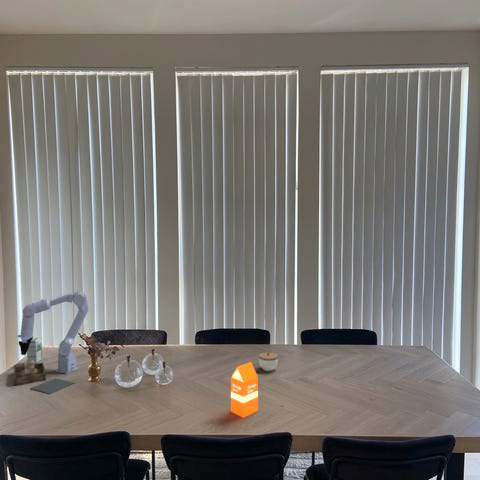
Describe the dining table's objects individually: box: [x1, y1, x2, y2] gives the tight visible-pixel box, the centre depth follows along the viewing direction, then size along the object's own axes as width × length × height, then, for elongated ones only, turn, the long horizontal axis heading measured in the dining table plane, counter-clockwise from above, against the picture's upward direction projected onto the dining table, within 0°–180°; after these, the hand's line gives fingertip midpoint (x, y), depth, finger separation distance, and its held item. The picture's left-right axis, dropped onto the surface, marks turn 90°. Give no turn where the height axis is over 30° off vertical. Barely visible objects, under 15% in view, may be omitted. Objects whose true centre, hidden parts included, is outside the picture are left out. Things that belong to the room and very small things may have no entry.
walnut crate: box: [13, 361, 47, 387], centre depth 201 cm, size 14×20×4 cm
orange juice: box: [230, 361, 259, 419], centre depth 160 cm, size 8×9×20 cm
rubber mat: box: [30, 377, 75, 395], centre depth 188 cm, size 14×14×1 cm
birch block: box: [23, 360, 34, 374], centre depth 201 cm, size 4×4×5 cm
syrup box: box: [26, 337, 43, 364], centre depth 221 cm, size 6×6×14 cm
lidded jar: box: [258, 351, 279, 372], centre depth 209 cm, size 11×11×9 cm
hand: (24, 352), depth 202 cm, fingers open, 7 cm apart
